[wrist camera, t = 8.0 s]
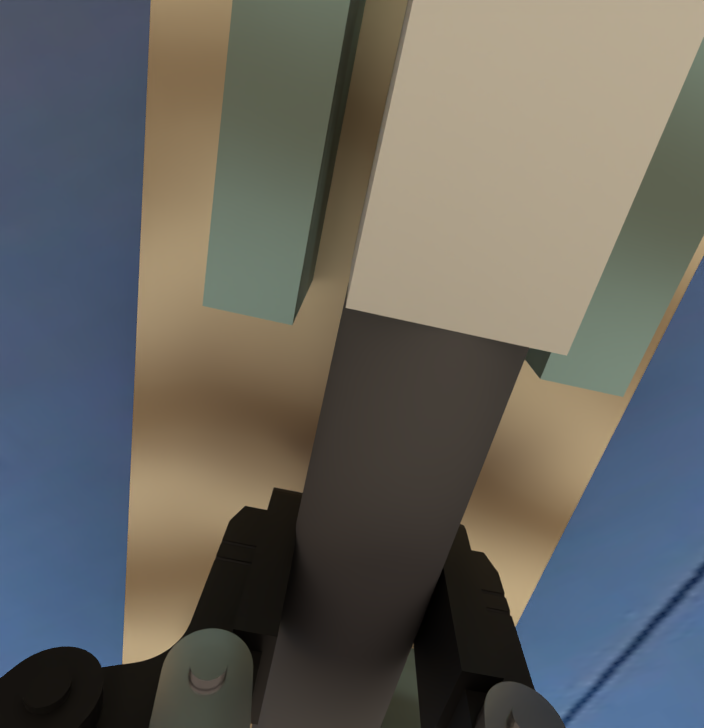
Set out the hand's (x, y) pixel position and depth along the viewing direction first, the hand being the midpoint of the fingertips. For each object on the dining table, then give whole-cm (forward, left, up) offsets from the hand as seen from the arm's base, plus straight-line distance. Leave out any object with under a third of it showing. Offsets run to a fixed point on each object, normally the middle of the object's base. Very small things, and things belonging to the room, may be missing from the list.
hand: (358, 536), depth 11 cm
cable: (0, 0, 0) cm, 0 cm away
